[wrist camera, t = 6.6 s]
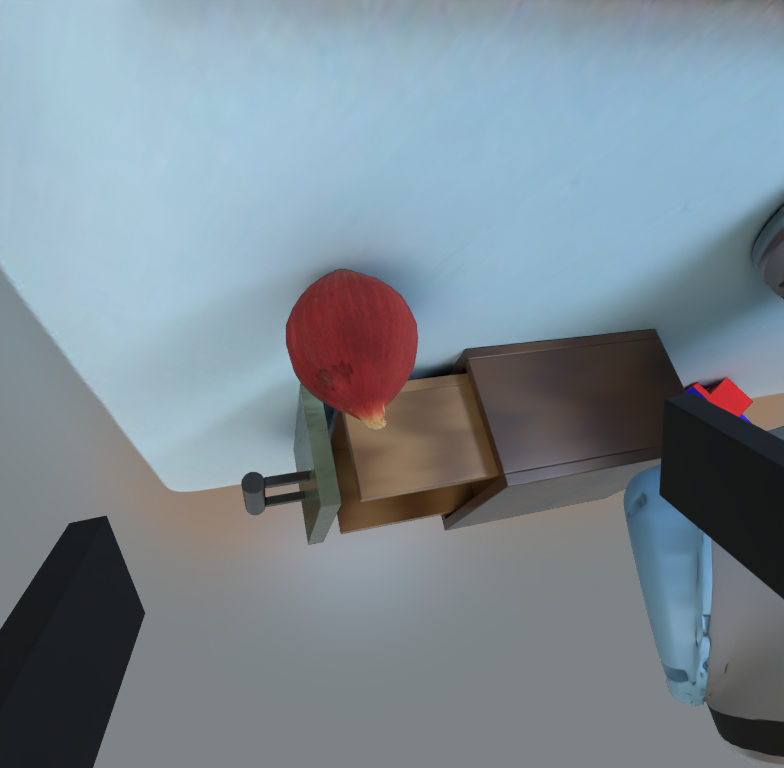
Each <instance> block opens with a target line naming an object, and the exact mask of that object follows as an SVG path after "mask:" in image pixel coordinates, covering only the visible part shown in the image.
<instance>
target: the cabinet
mask: <svg viewBox="0 0 784 768" xmlns="http://www.w3.org/2000/svg"><path fill="white" fill-rule="evenodd" d="M466 373H468V376H469V380H470V383H471V386H472V389H473V393H474V396H475V399H476V402H477V406H478V409H479V412H480V415H481V418H482V422H483V425H484V428H485V431H486V435H487V438H488V441H489V444H490V448H491V451H492V454H493V457H494V461H495V464H496V467H497V470H498V473H499V477H500V478H499V479H498V480H496V481H495V482H494V483H492V484H491V485H490V486H489V487H487V488H486V489H485V490H483V491H482V492H481V493H479V494H478V495H477V496H475V497H474V498H473V499H471V500H470V501H469V502H467V503H466V504H465V505H464V506H462V507H461V508H460V509H458V510H457V511H456V512H454V513H449V514H443V515H441V517H442V520H443V524H444V529H445V530H451V529H456V528H460V527H465V526H471V525H475V524H480V523H485V522H490V521H495V520H500V519H505V518H510V517H515V516H520V515H525V514H530V513H534V512H540V511H545V510H549V509H554V508H559V507H564V506H569V505H574V504H579V503H584V502H589V501H594V500H599V499H604V498H607V497H609V496H611V495H613V494H615V493H618V492H620V491H622V490H624V489H626V487H627V485H628V484H629V482H630V481H631V479H632V478H633V477H634V476H635V475H637V474H638V473H640V472H642V471H643V470H646V469H649V468H651V467H654V466H657V465H660V464H661V453H662V436H663V418H664V401H665V399H668V398H673V397H677V396H682V395H687V394H686V392H685V390H684V388H683V385H682V383H681V381H680V379H679V377H678V375H677V373H676V371H675V369H674V367H673V365H672V363H671V361H670V359H669V356H668V354H667V352H666V350H665V348H664V346H663V344H662V342H661V340H660V338H659V336H658V334H657V332H656V330H655V329H653V330H643V331H634V332H624V333H615V334H605V335H596V336H587V337H577V338H568V339H558V340H549V341H540V342H530V343H521V344H511V345H502V346H493V347H483V348H474V349H466V350H465V351H464V352H463V354H462V355H461V357H460V358H459V360H458V362H457V363H456V365H455V366H454V368H453V369H452V371H451V373H450V374H449V375H457V374H466Z"/></svg>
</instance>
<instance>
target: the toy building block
mask: <svg viewBox="0 0 784 768" xmlns="http://www.w3.org/2000/svg"><path fill="white" fill-rule="evenodd" d="M685 392H686V394H692V393H694V394H696V395H698V396H700V397H701V398H703V399H705V400H707V401H709V402H711V403H713V404H715V405H717V406H719V407H721V408H723V409H725V410H727V411H728V412H730V413H732V414H734V415H736V416H738V417H740V418H742V419H744V420H746V421H748V422H750V421H749V420H748V419H747V418H746V417H745V416H743V415H742V413H743V412H744V411H745V410H746V409H747V408H748V407H749V406H750V405H751V403H752V402H753V401H752V400H751V399H750V398H749V397H748V396H747V395H746V394H744V393H743V392H742V391H741V390H740V389H739V388H738V387H737V386H736V385H735V384H734V383H733V382H731V381H730V380H729V379H728V378H725V379H724V380H722V381H720V382H719V383H717V384H716V385H714V386H712V387H711V388H709V389H708V390H705V389H704V388H703V387H702V386H701V385H700V384H699V383H698V382H697V383H695V384H694V385H692V386H691V387H689V388H688V389H686V390H685ZM750 423H751V422H750Z"/></svg>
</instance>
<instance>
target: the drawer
mask: <svg viewBox="0 0 784 768" xmlns="http://www.w3.org/2000/svg"><path fill="white" fill-rule="evenodd" d="M385 418H386V421H387V423H386V425H385V427H384V428H381V429H373V428H369V427H368V426H367V425H366V424H365V423H364V422H362V421H361V420H359V419H357V418H354V417H353V416H351V415H349V414H347V413H344V412H341V411H339V410H336V409H334V412H333V416H332V420H331V424H330V428H329V432H328V427H327V422H326V416H325V411H324V405H323V402H321V401H320V400H318V399H317V398H316V397H314V396H313V395H312V394H310V392H309V391H308V390H307V389H306V388H305V387H304V386H303V385H302V384H300V392H299V401H298V411H297V421H296V430H295V440H294V456H295V463H296V469H297V472H295V473H289V474H283V475H276V476H270V477H265V478H263V476H262V475H261V474H259V473H257V472H250V473H248V474H246V475H245V476H244V477H243V479H242V483H241V485H242V490H243V495H244V501H245V506H246V510H247V512H248V513H250V514H252V515H259V514H261V513H262V512H263V511H264V510H265V507H269V506H275V505H281V504H287V503H292V502H298V501H302V508H303V514H304V520H305V527H306V534H307V540H308V545H310V544H316V543H321V542H324V539H325V537H326V535H327V533H328V531H329V529H330V527H331V525H332V522H333V520H334V518H335V516H336V514H337V516H338V521H339V527H340V532H341V534H345V533H350V532H355V531H361V530H366V529H371V528H376V527H381V526H387V525H392V524H397V523H402V522H407V521H412V520H417V519H423V518H428V517H433V516H438V515H443V514H449V513H454V512H456V511H457V510H458V509H460V508H461V507H462V506H464V505H465V504H466V503H467V502H469V501H470V500H471V499H473V498H474V497H475V496H477V495H478V494H479V493H481V492H482V491H483V490H485V489H486V488H487V487H489V486H490V485H491V484H492V483H494V482H495V481H496V480H498V479H499V478H500V477H499V473H498V470H497V467H496V464H495V461H494V457H493V454H492V451H491V448H490V444H489V441H488V438H487V435H486V431H485V428H484V425H483V422H482V418H481V415H480V412H479V409H478V406H477V402H476V399H475V396H474V393H473V389H472V386H471V383H470V380H469V376H468V373H466V374H457V375H449V376H441V377H432V378H424V379H415V380H407V382H406V384H405V385H404V386H403V388H402V389H401V390H400V392H399V393H398V394H397V396H396V397H395V398H394V399H393V400H392V401H391V402H390V403H389V404H388V405H387V406H386V407H385ZM296 483H299V489H300V491H299V492H294V493H288V494H282V495H276V496H270V497H265V488H272V487H277V486H284V485H290V484H296Z"/></svg>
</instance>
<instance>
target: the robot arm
mask: <svg viewBox="0 0 784 768" xmlns="http://www.w3.org/2000/svg"><path fill="white" fill-rule="evenodd" d="M752 258H753V262H754V264H755V266H756V267H757V269H758V271H759V272H760V274H761V276H762V277H763V279H764V281H765V282H766V283H767V284H768V285H769V286H770V287H771V288H772V290H773V291H774V292H775V293H776V294H777V295H779V296H780V297H781V298H783V299H784V206H783V207H782V208H781V209H780V210H779V211H778V212H777V213H776V214H775V215H774V217H773V218H772V219H771V220H770V221H769V223H768V224H767V225H766V227H765V228H764V229H763V231H762V232H761V234H760V235H759V237H758V239H757V241H756V243H755V246H754V248H753V254H752ZM624 510H625V516H626V521H627V527H628V531H629V536H630V541H631V546H632V550H633V555H634V559H635V563H636V567H637V572H638V576H639V580H640V584H641V588H642V592H643V597H644V601H645V604H646V609H647V613H648V616H649V620H650V624H651V627H652V632H653V635H654V639H655V643H656V646H657V650H658V653H659V657H660V659H661V663H662V666H663V668H664V672H665V675H666V681H667V685H668V688H669V691H670V692H671V694H672V696H673V697H674V698H675V699H676V700H677V701H679V702H684V703H689V704H691V705H693V706H698V705H701V704H704V702H705V701H706V703H707V705H708V707H709V709H710V712H711V714H712V717H713V720H714V722H715V725H716V727H717V730H718V732H719V735H720V737H721V739H722V741H723V742H724V744H725V745H726V746H727V747H728V748H730V749H731V750H732V751H733V752H735V753H737V754H738V755H740V756H742V757H743V758H745V759H746V760H748V761H749V762H751V763H752V764H754V765H755V766H757V767H759V768H784V426H782V427H779V428H776V429H772V430H769V431H765V430H763V429H761V428H759V427H757V426H755V425H753V424H752V423H750V422H748V421H746V420H744V419H742V418H740V417H738V416H736V415H734V414H732V413H730V412H728V411H727V410H725V409H723V408H721V407H719V406H717V405H715V404H713V403H711V402H709V401H707V400H705V399H703V398H701V397H700V396H698V395H696V394H694V393H692V394H687V395H682V396H677V397H673V398H668V399H665V401H664V418H663V436H662V453H661V464H660V465H657V466H654V467H651V468H649V469H646V470H643V471H642V472H640V473H638V474H637V475H635V476H634V477H633V478H632V479H631V481H630V482H629V484H628V485H627V487H626V490H625V494H624ZM144 615H145V612H144V609H143V607H142V604H141V602H140V599H139V596H138V594H137V591H136V589H135V586H134V584H133V582H132V579H131V577H130V574H129V572H128V569H127V566H126V564H125V561H124V559H123V556H122V554H121V551H120V548H119V546H118V544H117V542H116V538H115V536H114V533H113V531H112V528H111V526H110V523H109V521H108V518H107V516H102V517H98V518H92V519H88V520H83V521H78V522H73V523H69V525H68V526H67V528H66V529H65V531H64V532H63V534H62V535H61V537H60V539H59V540H58V542H57V543H56V545H55V546H54V548H53V549H52V551H51V552H50V554H49V555H48V557H47V558H46V560H45V562H44V563H43V565H42V566H41V568H40V569H39V571H38V572H37V574H36V575H35V577H34V579H33V580H32V582H31V583H30V585H29V586H28V588H27V589H26V591H25V592H24V594H23V595H22V597H21V598H20V600H19V602H18V603H17V605H16V606H15V608H14V609H13V611H12V612H11V614H10V615H9V617H8V618H7V620H6V622H5V623H4V625H3V627H2V628H1V629H0V768H93V766H94V763H95V760H96V757H97V754H98V751H99V748H100V745H101V742H102V739H103V737H104V734H105V731H106V728H107V724H108V722H109V719H110V716H111V712H112V710H113V707H114V704H115V701H116V698H117V695H118V692H119V689H120V686H121V683H122V680H123V677H124V674H125V671H126V668H127V665H128V662H129V660H130V657H131V654H132V651H133V648H134V645H135V642H136V639H137V636H138V633H139V630H140V627H141V624H142V621H143V618H144Z"/></svg>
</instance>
